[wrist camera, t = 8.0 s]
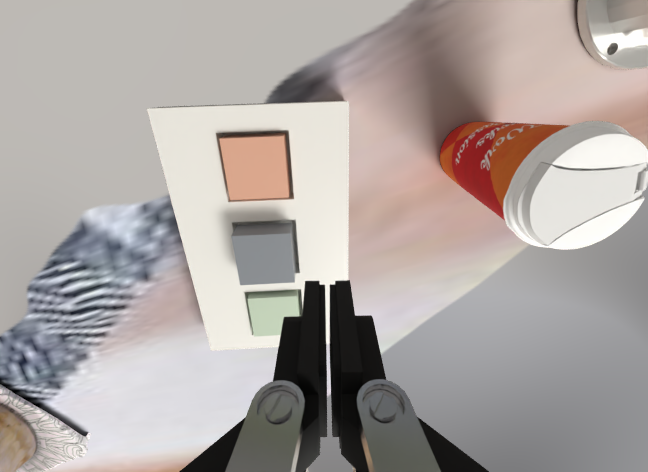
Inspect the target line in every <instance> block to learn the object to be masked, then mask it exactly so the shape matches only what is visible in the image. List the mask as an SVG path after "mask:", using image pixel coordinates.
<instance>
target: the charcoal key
mask: <svg viewBox="0 0 648 472" xmlns="http://www.w3.org/2000/svg"><path fill="white" fill-rule="evenodd" d="M231 238H232V243H233V249H234V254H235V260H236V265H237V271H238V276H239V281H240V285H256V284H275V283H294V282H295V273H296V266H295V254H294V242H293V230H292V223H276V224H255V225H237V226H236V228H235V230H234V232H233V234H232V236H231Z"/></svg>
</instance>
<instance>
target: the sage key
mask: <svg viewBox="0 0 648 472" xmlns="http://www.w3.org/2000/svg"><path fill="white" fill-rule="evenodd" d="M248 305H249V311H250V316H251V322H252V328H253V333H254V337H255V336H273V335H281V330H282V324H283V319H284V317H290V316H301V312H300V300H299V289H296V290H278V291H259V292H249V295H248Z"/></svg>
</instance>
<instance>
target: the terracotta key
mask: <svg viewBox="0 0 648 472" xmlns="http://www.w3.org/2000/svg"><path fill="white" fill-rule="evenodd" d="M219 140H220V146H221V152H222V157H223V163H224V169H225V174H226V180H227V186H228V191H229V197H230V200H243V199H265V198H288V197H289V194H290V179H289V166H288V154H287V142H286V133H267V134H241V135H226V136H224V137H222V138H220V139H219Z"/></svg>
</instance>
